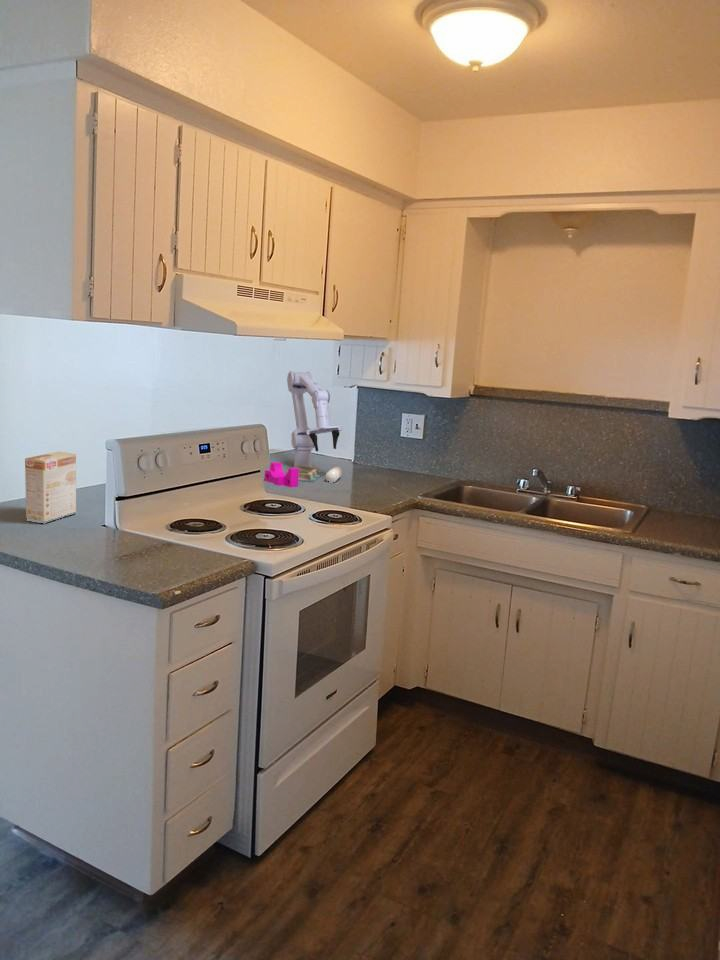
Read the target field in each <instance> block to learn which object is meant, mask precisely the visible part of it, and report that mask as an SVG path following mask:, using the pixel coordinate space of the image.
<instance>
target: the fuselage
mask: <svg viewBox="0 0 720 960" xmlns="http://www.w3.org/2000/svg"><path fill="white" fill-rule="evenodd" d="M342 475H343V469H342V468H341V466H333V467H332V468H331V469H330V470H329V471H327V472H326V474H325V480H326V482H328V481H329V482H328V483H330V482H334V483H336V482H337V481H338V480H339V478H341V477H342Z"/></svg>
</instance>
